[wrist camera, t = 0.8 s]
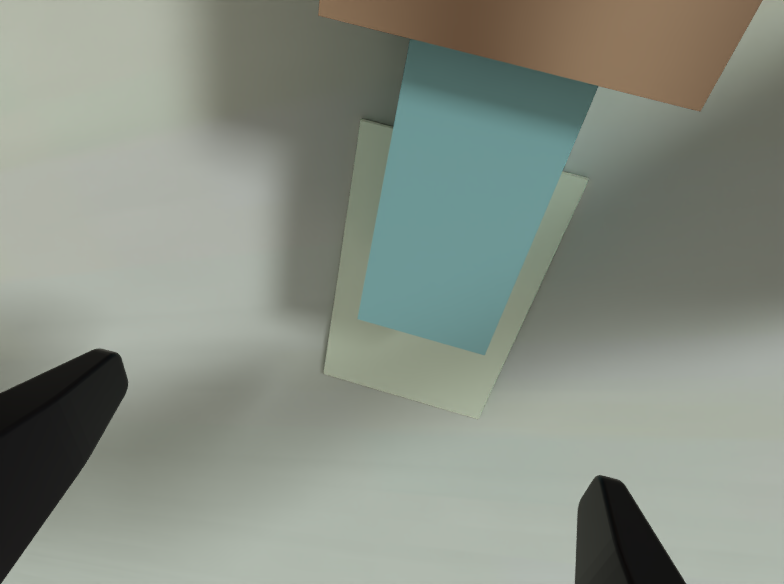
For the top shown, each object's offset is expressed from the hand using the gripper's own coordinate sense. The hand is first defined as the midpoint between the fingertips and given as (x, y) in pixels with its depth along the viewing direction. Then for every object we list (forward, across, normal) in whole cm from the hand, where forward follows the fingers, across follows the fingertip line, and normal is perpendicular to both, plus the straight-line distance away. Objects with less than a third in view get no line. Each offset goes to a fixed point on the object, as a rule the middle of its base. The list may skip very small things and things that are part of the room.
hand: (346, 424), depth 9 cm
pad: (+11, -1, +5) cm, 13 cm away
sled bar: (+11, -1, -3) cm, 12 cm away
